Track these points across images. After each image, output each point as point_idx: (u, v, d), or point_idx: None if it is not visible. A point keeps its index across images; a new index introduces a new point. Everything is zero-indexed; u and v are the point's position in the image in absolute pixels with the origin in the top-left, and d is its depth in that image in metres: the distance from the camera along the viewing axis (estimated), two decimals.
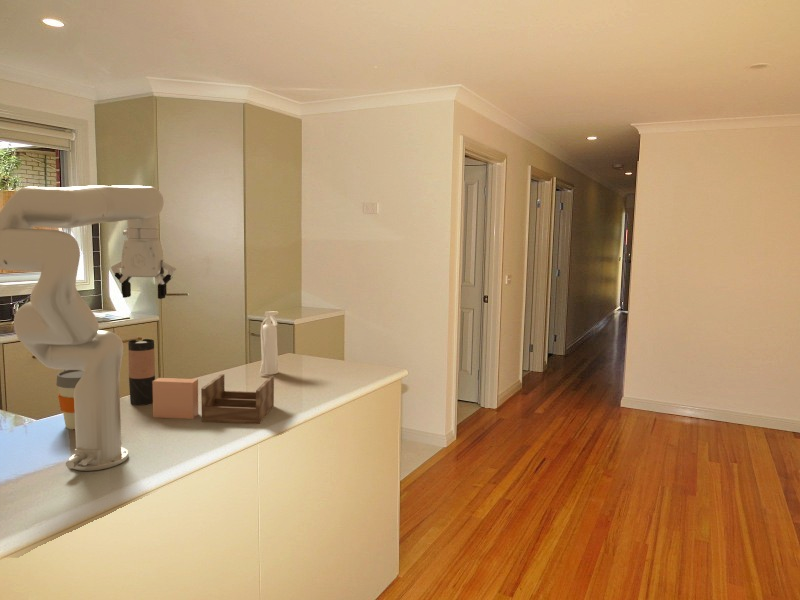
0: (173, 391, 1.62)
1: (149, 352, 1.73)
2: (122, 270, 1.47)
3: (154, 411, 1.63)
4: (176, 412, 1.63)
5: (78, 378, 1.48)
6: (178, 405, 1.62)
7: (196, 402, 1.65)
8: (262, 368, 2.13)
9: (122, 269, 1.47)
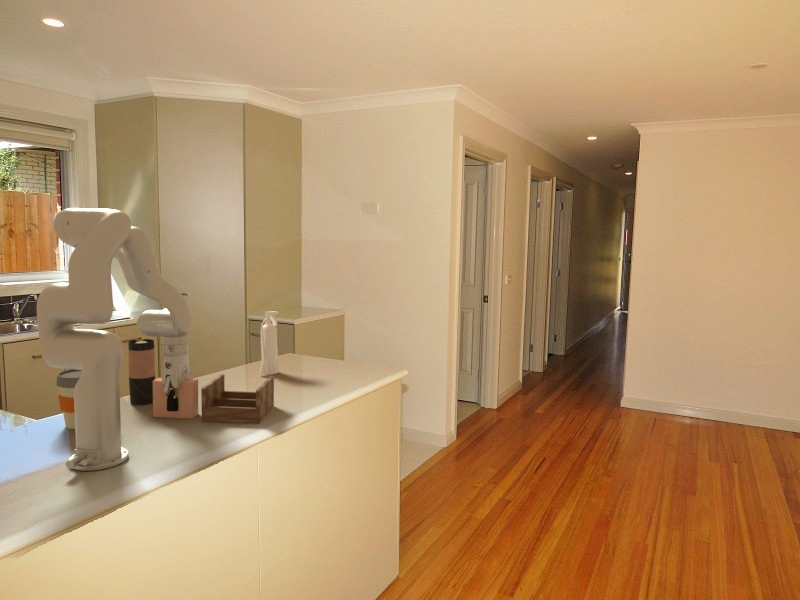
0: None
1: (149, 352, 1.73)
2: (177, 384, 1.59)
3: (155, 411, 1.63)
4: (176, 412, 1.63)
5: (78, 378, 1.48)
6: (178, 405, 1.62)
7: (196, 402, 1.65)
8: (262, 368, 2.13)
9: (177, 383, 1.59)
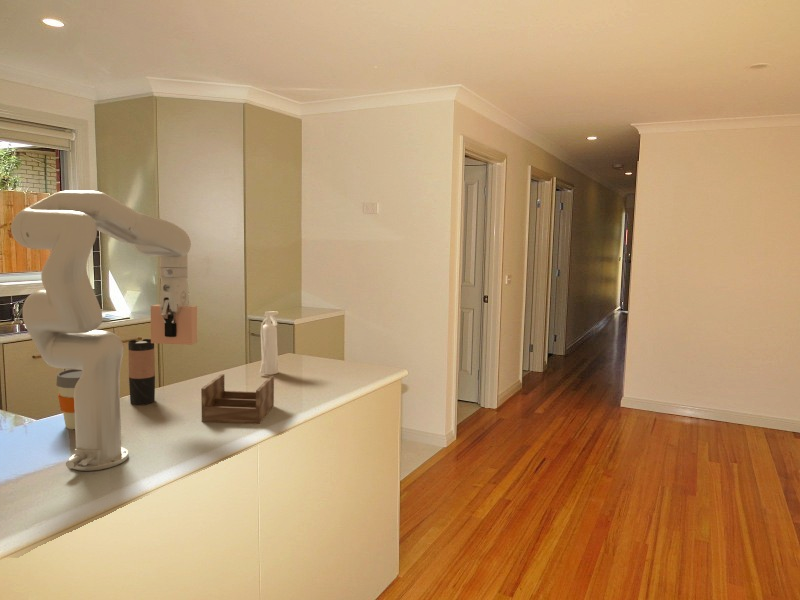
0: None
1: (149, 352, 1.73)
2: (176, 308, 1.56)
3: (152, 337, 1.60)
4: (174, 338, 1.60)
5: (78, 378, 1.48)
6: (176, 330, 1.60)
7: (195, 329, 1.62)
8: (262, 368, 2.13)
9: (176, 307, 1.56)
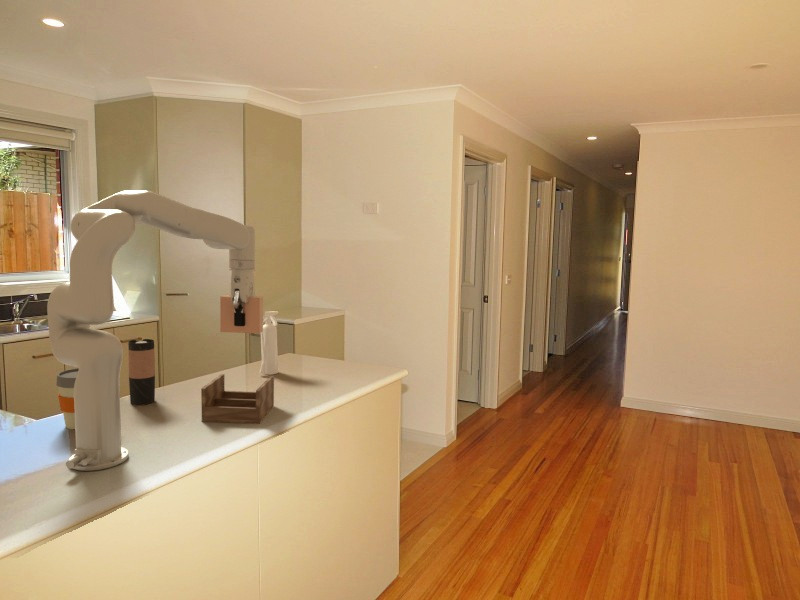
0: (241, 306, 1.67)
1: (149, 352, 1.73)
2: (246, 298, 1.64)
3: (222, 326, 1.67)
4: (242, 327, 1.67)
5: None
6: (245, 320, 1.67)
7: (261, 318, 1.70)
8: (262, 368, 2.13)
9: (246, 297, 1.64)
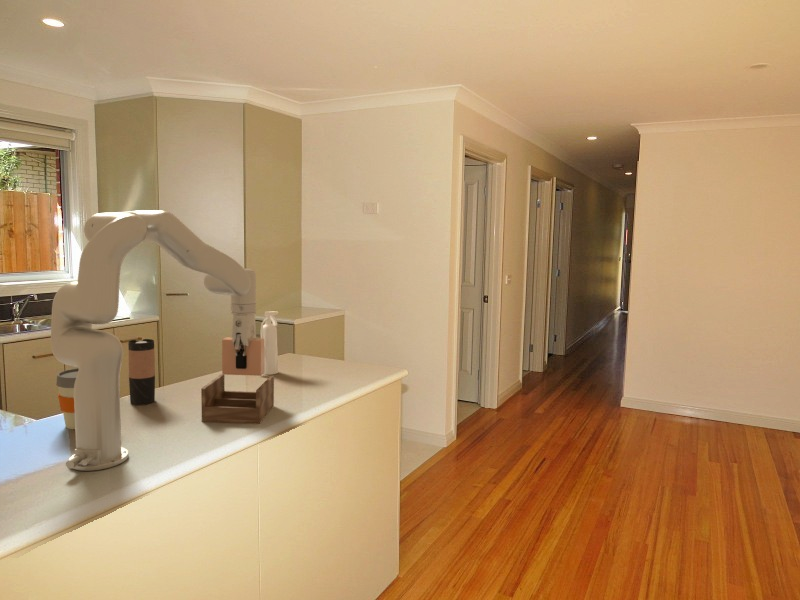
0: (242, 348, 1.68)
1: (149, 352, 1.73)
2: (247, 342, 1.66)
3: (224, 368, 1.69)
4: (244, 369, 1.69)
5: None
6: (247, 362, 1.69)
7: (263, 360, 1.71)
8: None
9: (247, 341, 1.66)
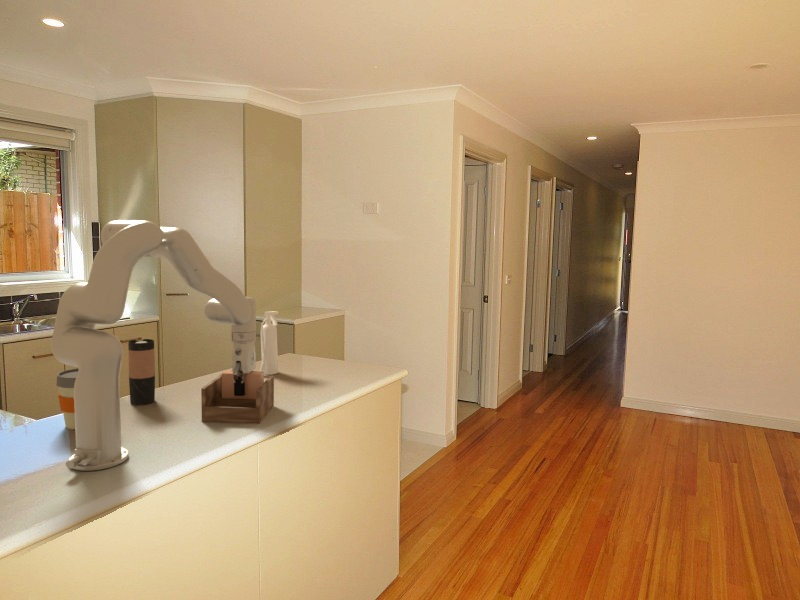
0: None
1: (149, 352, 1.73)
2: (247, 370, 1.67)
3: None
4: None
5: None
6: (246, 396, 1.70)
7: None
8: (262, 368, 2.13)
9: (247, 369, 1.66)
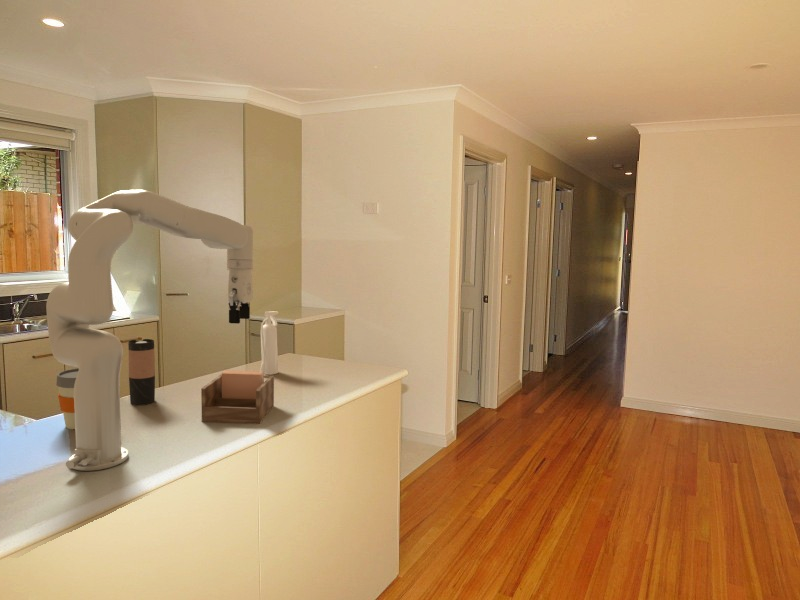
0: (242, 382, 1.69)
1: (149, 352, 1.73)
2: (243, 298, 1.63)
3: None
4: None
5: None
6: (246, 396, 1.70)
7: None
8: (262, 368, 2.13)
9: (243, 297, 1.63)
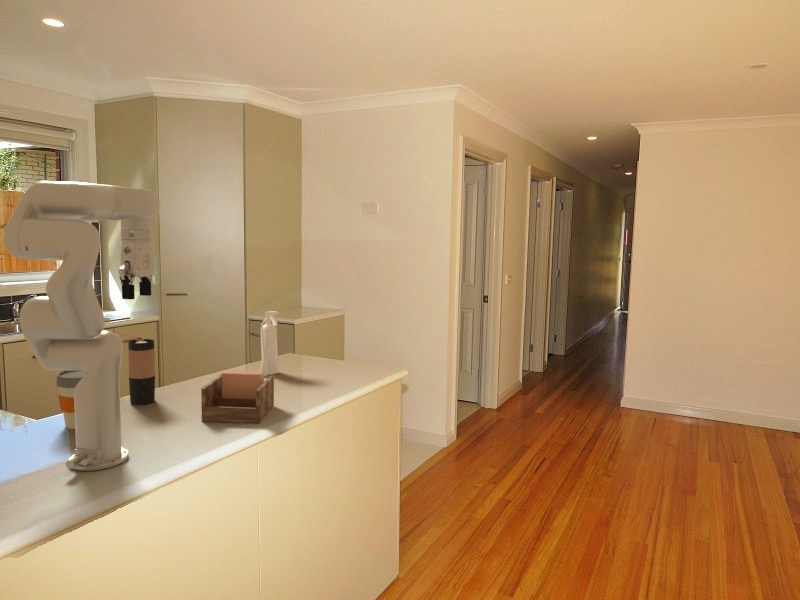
0: (242, 382, 1.69)
1: (149, 352, 1.73)
2: (137, 271, 1.50)
3: None
4: None
5: (78, 378, 1.48)
6: (246, 396, 1.70)
7: None
8: (262, 368, 2.13)
9: (137, 271, 1.50)
